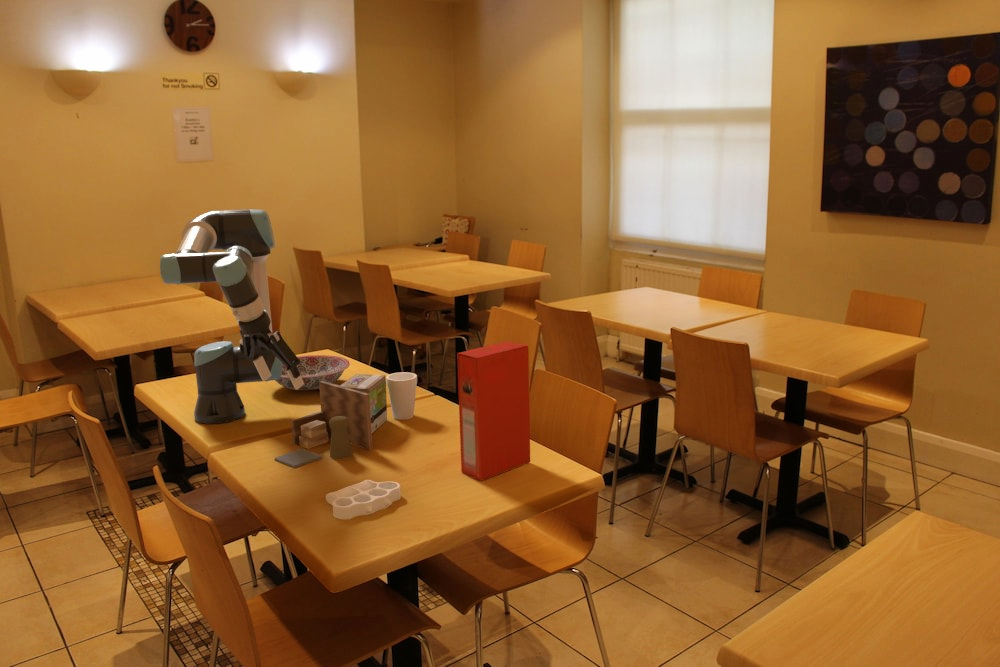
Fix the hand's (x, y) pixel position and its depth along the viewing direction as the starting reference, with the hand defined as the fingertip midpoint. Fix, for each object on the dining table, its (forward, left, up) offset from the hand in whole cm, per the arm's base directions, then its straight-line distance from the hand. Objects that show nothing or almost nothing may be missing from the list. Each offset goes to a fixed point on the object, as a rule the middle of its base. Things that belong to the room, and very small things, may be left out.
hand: (283, 382), depth 217 cm
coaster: (+1, +2, -22) cm, 22 cm away
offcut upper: (-6, +12, -19) cm, 24 cm away
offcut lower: (-6, +12, -22) cm, 26 cm away
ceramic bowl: (-53, +45, -22) cm, 73 cm away
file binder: (+47, +31, -22) cm, 61 cm away
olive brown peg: (+8, +11, -22) cm, 26 cm away
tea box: (-5, +30, -22) cm, 38 cm away
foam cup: (-3, +44, -22) cm, 50 cm away
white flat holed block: (+37, -5, -23) cm, 43 cm away
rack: (0, +14, -22) cm, 26 cm away
